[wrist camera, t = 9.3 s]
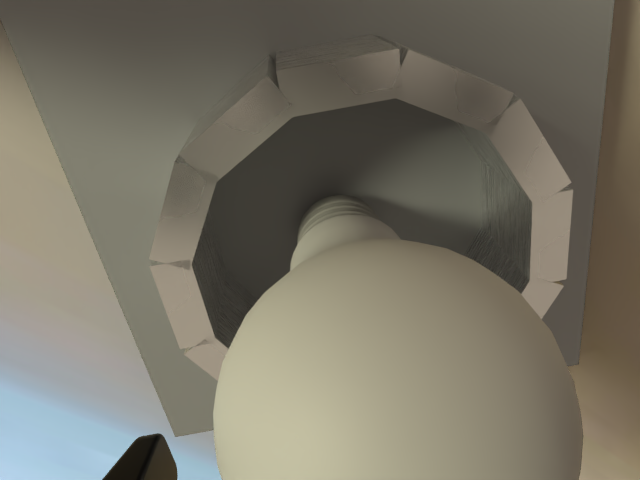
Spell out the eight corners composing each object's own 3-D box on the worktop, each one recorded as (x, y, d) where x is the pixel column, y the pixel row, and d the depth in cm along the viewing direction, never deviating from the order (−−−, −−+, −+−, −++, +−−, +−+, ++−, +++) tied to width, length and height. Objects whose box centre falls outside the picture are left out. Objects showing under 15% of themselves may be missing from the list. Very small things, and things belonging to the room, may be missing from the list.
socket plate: (13, -17, 14) (-16, -17, 12) (593, -123, 14) (627, -135, 12) (181, 408, 21) (175, 436, 20) (559, 340, 21) (578, 364, 20)
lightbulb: (274, 96, 14) (290, 356, 4) (463, 164, 15) (795, 475, 6) (215, 275, 16) (138, 701, 7) (383, 319, 18) (520, 723, 8)
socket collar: (132, 78, 14) (89, 105, 10) (514, 7, 14) (586, 14, 10) (227, 371, 18) (217, 449, 15) (510, 320, 18) (557, 388, 15)
